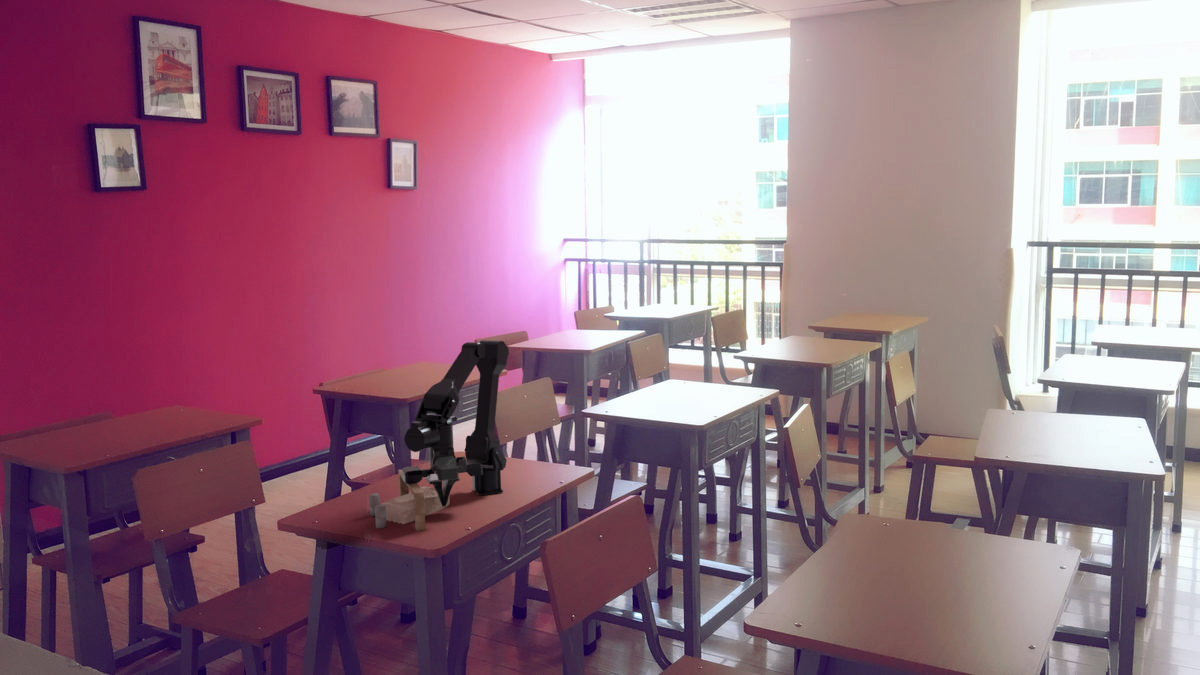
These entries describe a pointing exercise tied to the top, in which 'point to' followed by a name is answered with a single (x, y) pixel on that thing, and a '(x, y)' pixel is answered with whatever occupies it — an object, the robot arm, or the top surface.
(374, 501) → the shelf frame
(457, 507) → the top surface
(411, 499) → the brick
